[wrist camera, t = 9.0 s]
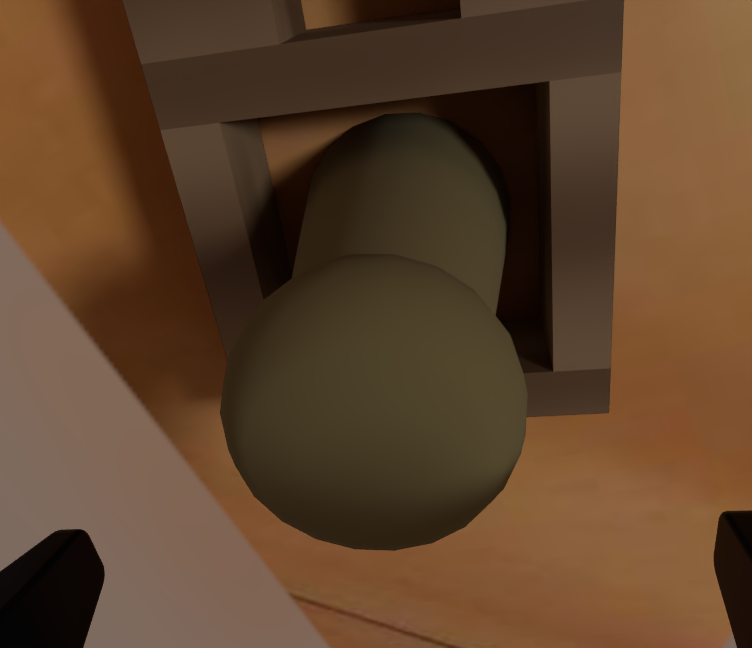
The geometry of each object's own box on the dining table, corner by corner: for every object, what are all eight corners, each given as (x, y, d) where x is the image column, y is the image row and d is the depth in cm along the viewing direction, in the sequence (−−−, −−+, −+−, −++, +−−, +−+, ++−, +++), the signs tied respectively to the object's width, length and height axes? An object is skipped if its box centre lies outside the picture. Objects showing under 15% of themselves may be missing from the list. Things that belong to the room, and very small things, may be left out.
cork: (302, 294, 21) (177, 577, 12) (310, 99, 18) (150, 265, 9) (490, 319, 21) (522, 630, 11) (530, 125, 18) (618, 326, 8)
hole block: (589, 355, 21) (609, 412, 18) (271, 375, 23) (247, 430, 20) (601, -312, 13) (637, -376, 11) (120, -210, 15) (51, -243, 13)
